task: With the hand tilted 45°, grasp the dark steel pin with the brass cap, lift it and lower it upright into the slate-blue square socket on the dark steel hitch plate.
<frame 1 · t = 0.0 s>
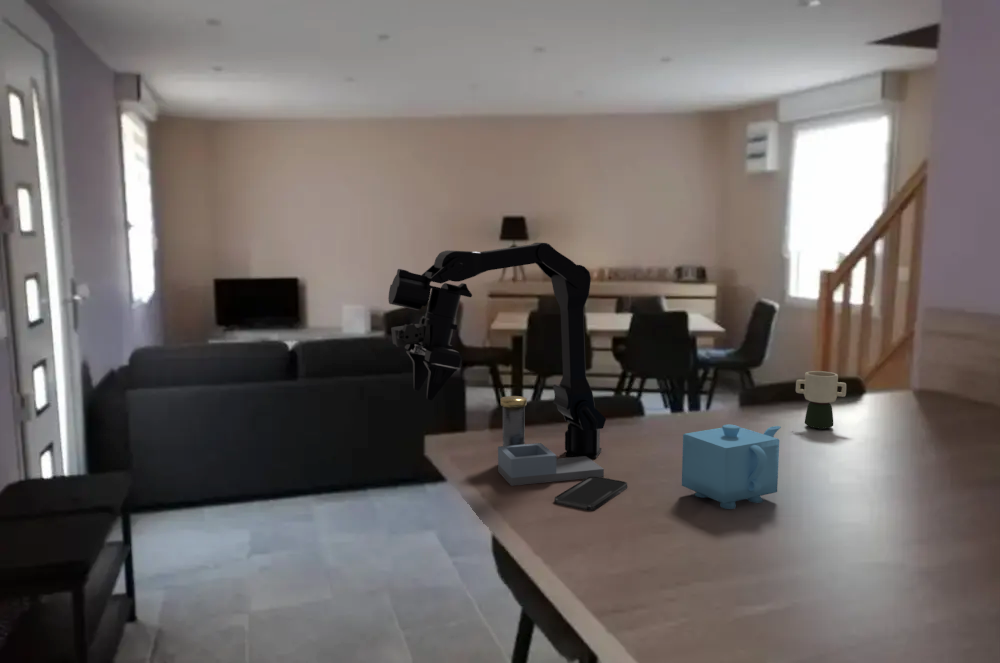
hand: (422, 394, 147), 15 cm above the table, tool pointing down, fingers open, 9 cm apart
trophy cup: (818, 428, 181), on the table
teapot: (740, 496, 136), on the table
phone: (592, 497, 136), on the table
pin: (513, 462, 155), on the table
hitch socket: (526, 476, 147), on the table
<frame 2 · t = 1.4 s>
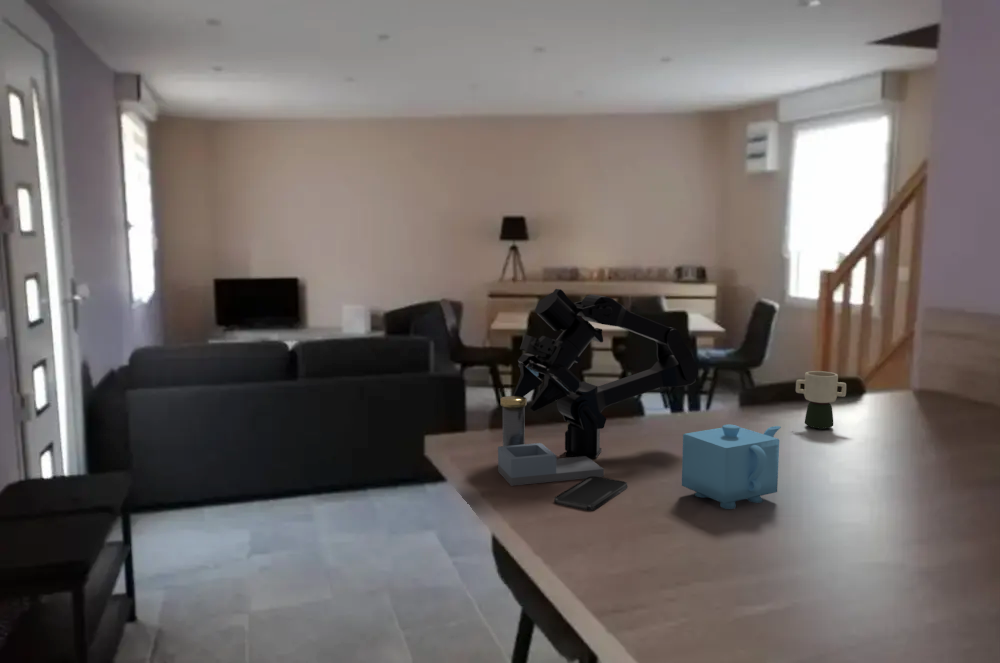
hand: (522, 404, 154), 12 cm above the table, tool tilted 45°, fingers open, 9 cm apart
nothing on the table moved.
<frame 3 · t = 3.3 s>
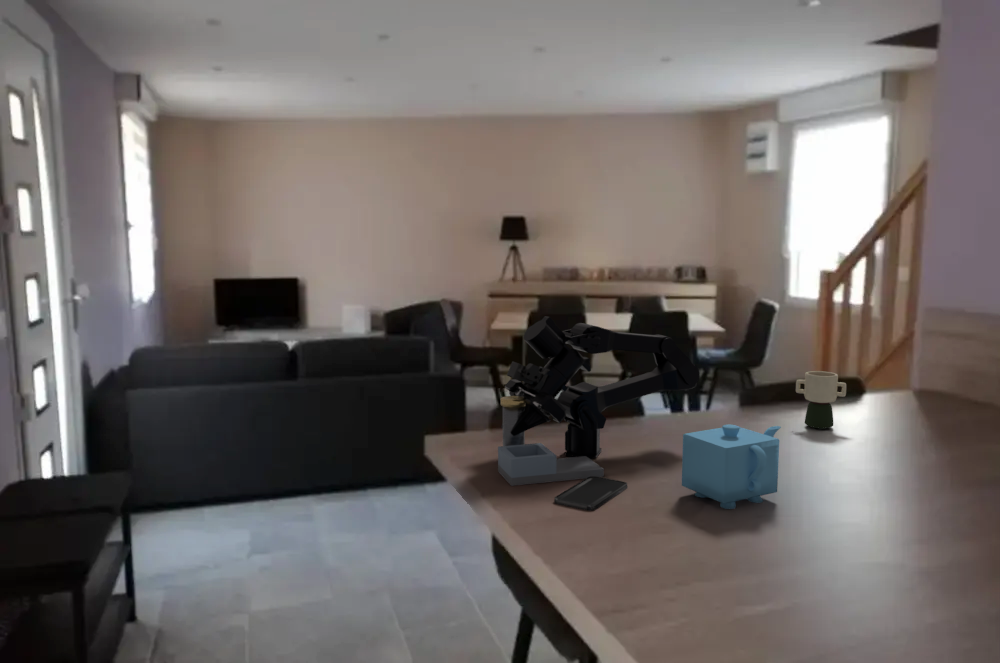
hand: (507, 431, 154), 7 cm above the table, tool tilted 45°, fingers closed on pin, 4 cm apart
pin: (513, 462, 155), on the table, touching gripper
everything else where it was.
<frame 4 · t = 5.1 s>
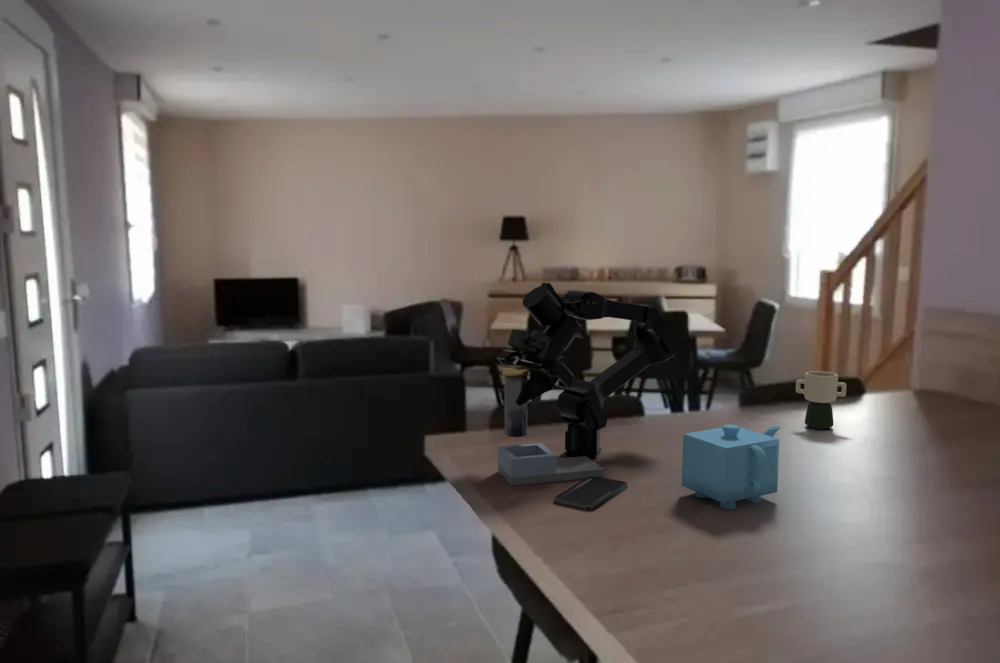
hand: (510, 402, 149), 14 cm above the table, tool tilted 45°, fingers closed on pin, 4 cm apart
pin: (515, 434, 150), point 7 cm above the table, touching gripper
everything else where it was.
when the fingers open (9 cm above the table, at t = 6.9 s): pin stays where it is, resting on hitch socket.
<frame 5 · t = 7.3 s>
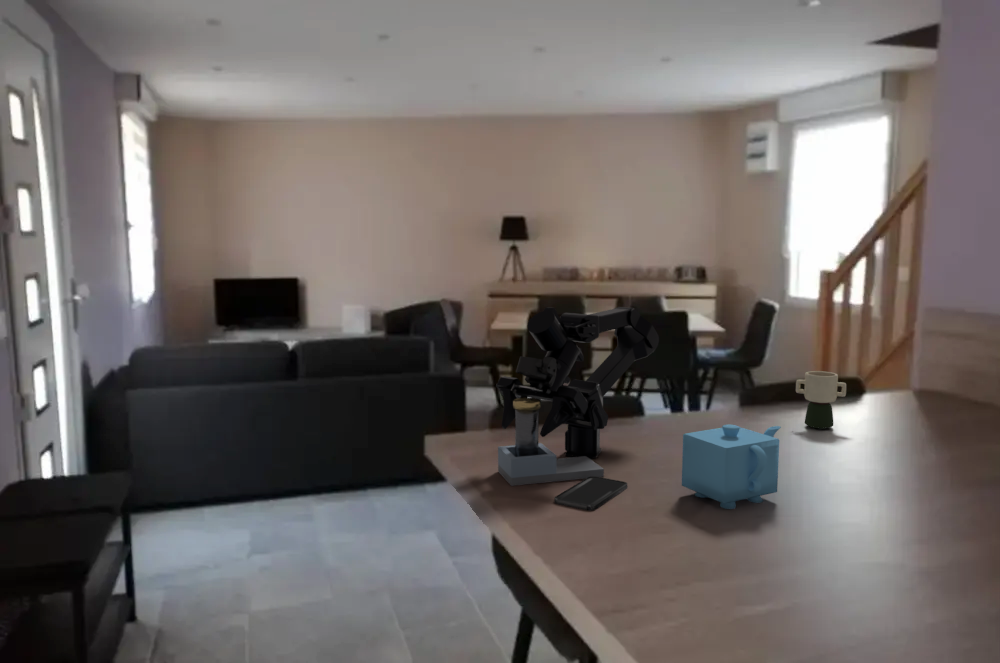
hand: (522, 431, 144), 9 cm above the table, tool tilted 45°, fingers open, 9 cm apart
pin: (526, 468, 146), point 1 cm above the table, touching hitch socket
everything else where it was.
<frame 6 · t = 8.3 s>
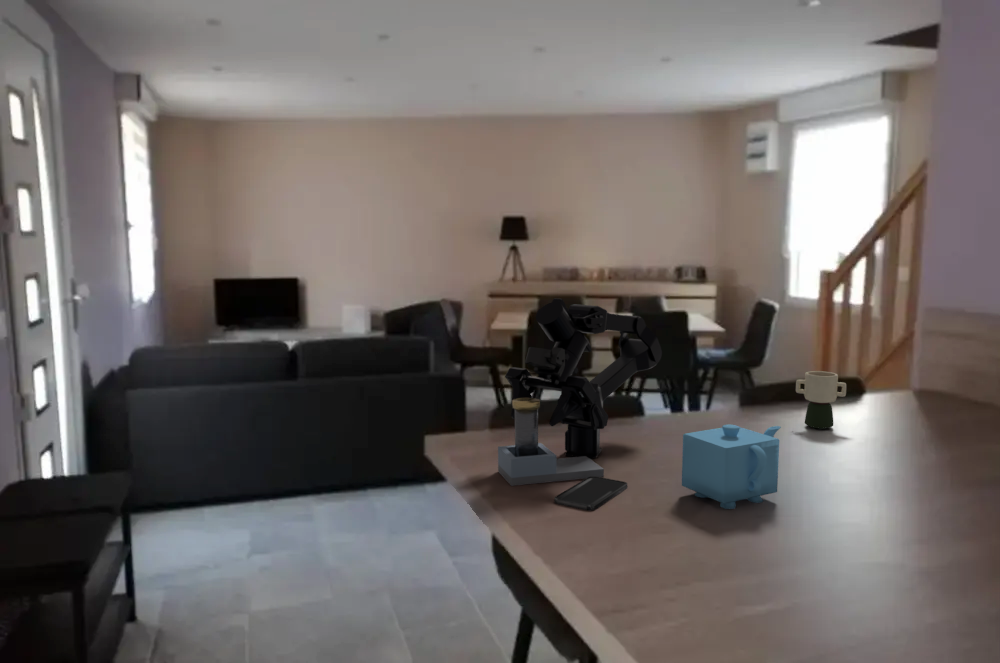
hand: (531, 421, 146), 10 cm above the table, tool tilted 45°, fingers open, 9 cm apart
nothing on the table moved.
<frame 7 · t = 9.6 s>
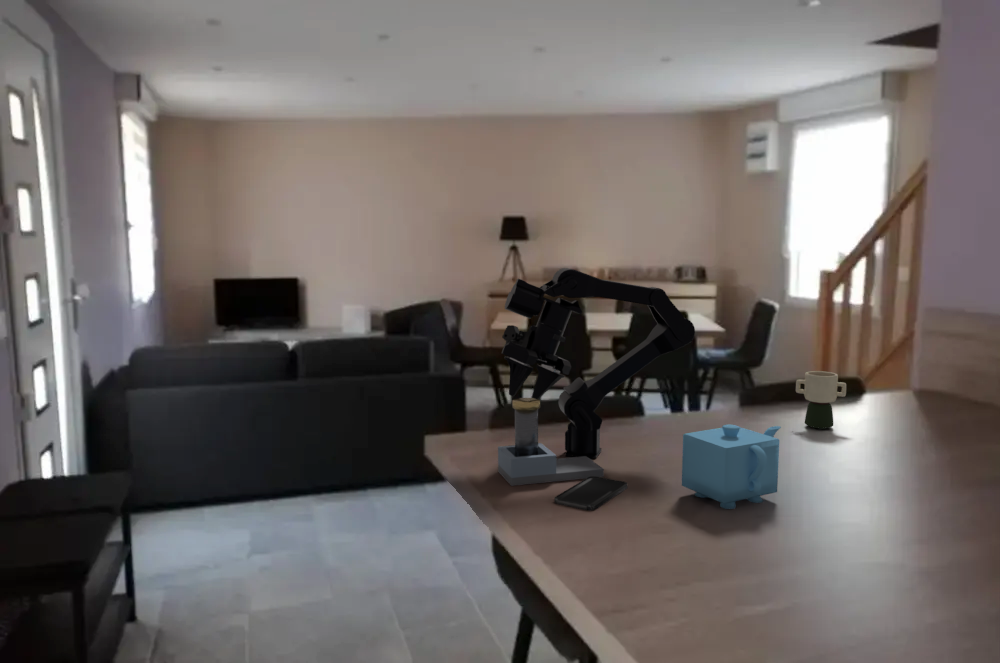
hand: (523, 397, 157), 13 cm above the table, tool tilted 20°, fingers open, 9 cm apart
nothing on the table moved.
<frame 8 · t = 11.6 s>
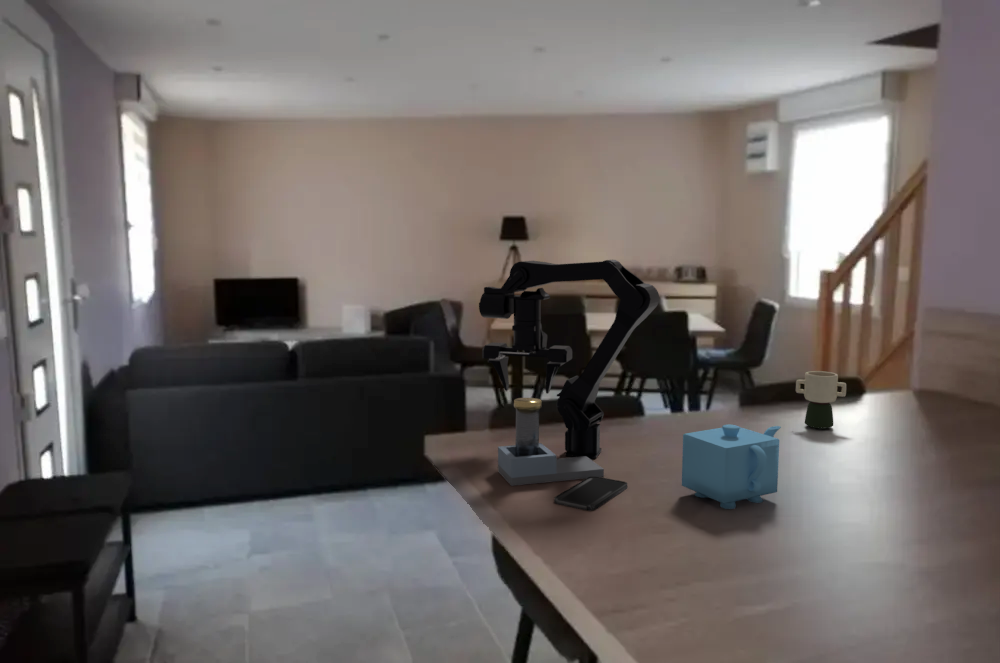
hand: (527, 391, 166), 12 cm above the table, tool pointing down, fingers open, 9 cm apart
nothing on the table moved.
at the end: pin 0.1 cm off-centre on the hitch socket, point 1.5 cm above the hitch socket's base; pin tilted 1°; the gripper is holding nothing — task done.
